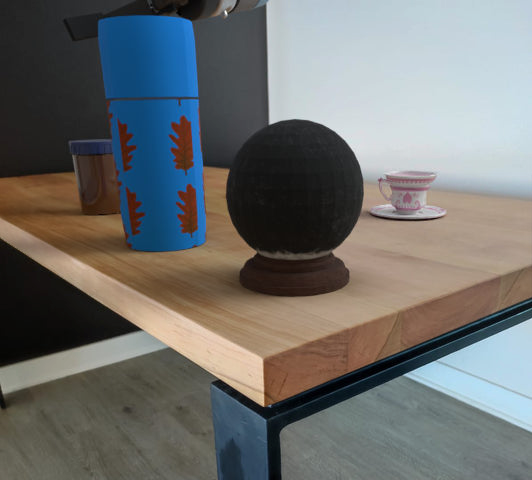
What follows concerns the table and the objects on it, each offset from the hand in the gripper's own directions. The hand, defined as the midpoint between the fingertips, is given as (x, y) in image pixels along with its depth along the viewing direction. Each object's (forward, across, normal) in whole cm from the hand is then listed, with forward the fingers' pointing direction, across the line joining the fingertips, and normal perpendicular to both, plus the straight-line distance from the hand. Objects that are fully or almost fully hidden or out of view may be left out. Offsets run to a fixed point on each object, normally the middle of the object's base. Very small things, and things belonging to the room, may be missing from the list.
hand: (93, 4), depth 69 cm
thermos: (+8, -2, -30) cm, 31 cm away
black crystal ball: (+14, -25, -37) cm, 46 cm away
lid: (-5, +20, -13) cm, 24 cm away
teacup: (-26, -18, -43) cm, 53 cm away
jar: (-3, +24, -23) cm, 33 cm away
